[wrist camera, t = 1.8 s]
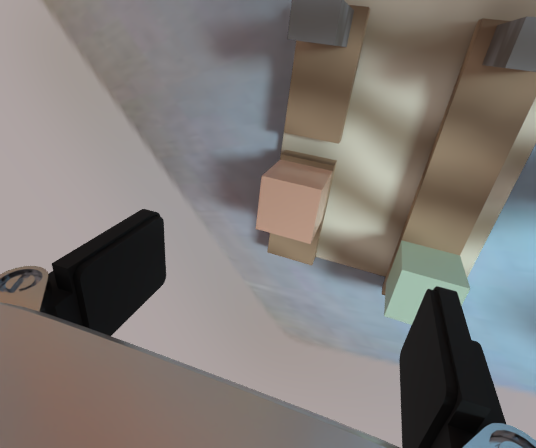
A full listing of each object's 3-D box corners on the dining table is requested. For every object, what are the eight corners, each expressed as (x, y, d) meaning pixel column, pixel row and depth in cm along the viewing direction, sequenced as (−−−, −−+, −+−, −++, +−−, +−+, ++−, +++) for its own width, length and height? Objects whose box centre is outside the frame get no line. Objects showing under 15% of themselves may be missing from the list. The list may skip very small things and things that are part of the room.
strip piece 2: (286, 149, 32) (280, 154, 31) (336, 160, 31) (333, 165, 30) (272, 244, 38) (267, 252, 36) (315, 256, 37) (311, 265, 35)
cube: (401, 240, 31) (402, 269, 26) (460, 255, 29) (470, 288, 25) (386, 282, 33) (384, 316, 29) (439, 298, 32) (445, 335, 28)
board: (319, -113, 24) (317, -117, 23) (658, -107, 19) (665, -111, 19) (270, 240, 38) (268, 243, 38) (456, 293, 34) (456, 297, 33)
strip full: (478, 20, 23) (507, 7, 17) (559, 28, 22) (623, 18, 16) (382, 285, 35) (378, 336, 29) (432, 300, 34) (440, 356, 28)
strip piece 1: (306, 2, 26) (277, -14, 20) (370, 9, 25) (361, -7, 19) (288, 129, 31) (260, 148, 25) (341, 140, 30) (325, 162, 24)
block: (280, 159, 31) (261, 175, 27) (332, 171, 30) (322, 190, 26) (273, 207, 34) (255, 228, 29) (322, 219, 32) (310, 244, 28)
